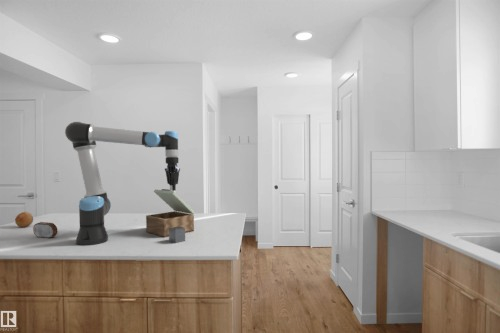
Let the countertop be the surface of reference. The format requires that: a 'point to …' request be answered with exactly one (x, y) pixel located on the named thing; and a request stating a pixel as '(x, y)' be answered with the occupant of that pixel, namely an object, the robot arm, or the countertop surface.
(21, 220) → the onion
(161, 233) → the storage box
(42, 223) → the tin
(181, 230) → the block
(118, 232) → the countertop surface
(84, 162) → the robot arm
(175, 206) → the lid
